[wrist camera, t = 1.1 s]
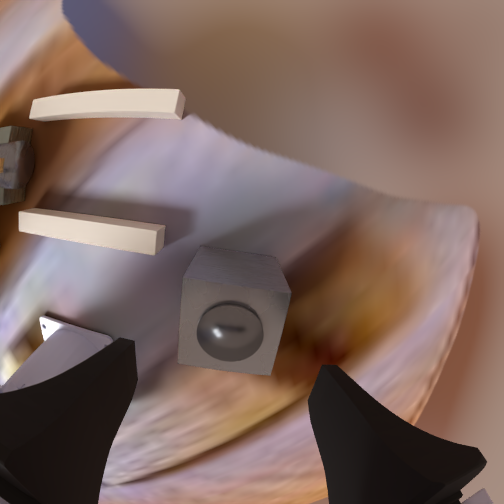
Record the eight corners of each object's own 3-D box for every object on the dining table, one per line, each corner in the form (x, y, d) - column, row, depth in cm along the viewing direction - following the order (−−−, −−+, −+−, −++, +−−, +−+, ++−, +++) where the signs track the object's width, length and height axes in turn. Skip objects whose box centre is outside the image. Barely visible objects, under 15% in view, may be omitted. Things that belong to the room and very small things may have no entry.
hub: (262, 322, 19) (270, 379, 13) (193, 312, 19) (176, 366, 13) (275, 256, 18) (293, 295, 12) (200, 245, 18) (181, 279, 12)
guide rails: (163, 247, 18) (154, 255, 16) (33, 226, 17) (19, 231, 15) (186, 98, 15) (179, 89, 13) (48, 103, 14) (33, 99, 12)
